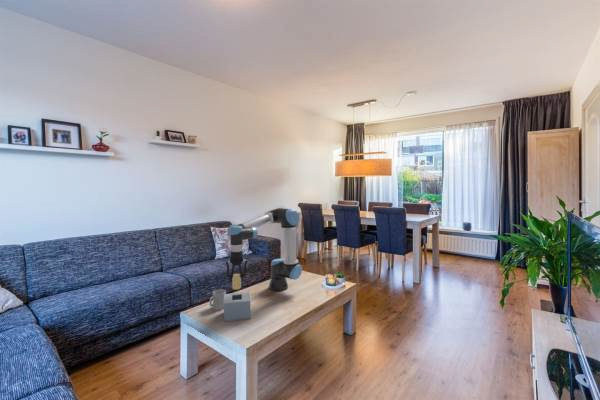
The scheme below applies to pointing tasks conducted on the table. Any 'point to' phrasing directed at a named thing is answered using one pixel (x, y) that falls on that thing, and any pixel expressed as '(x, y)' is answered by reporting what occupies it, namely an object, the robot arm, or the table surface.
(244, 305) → the grey box with hole
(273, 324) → the table surface
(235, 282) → the gold rectangular block
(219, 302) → the mug
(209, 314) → the table surface
